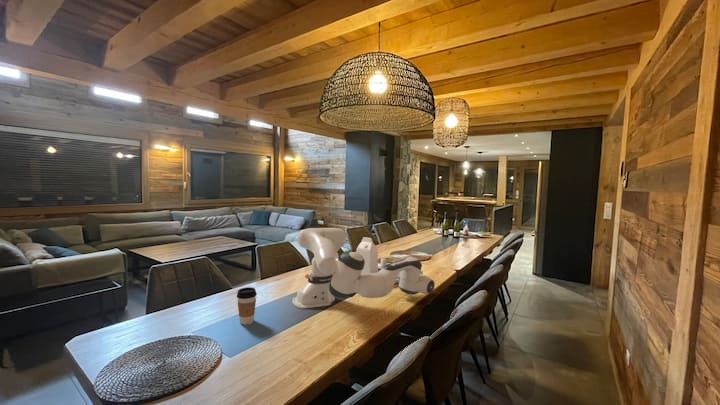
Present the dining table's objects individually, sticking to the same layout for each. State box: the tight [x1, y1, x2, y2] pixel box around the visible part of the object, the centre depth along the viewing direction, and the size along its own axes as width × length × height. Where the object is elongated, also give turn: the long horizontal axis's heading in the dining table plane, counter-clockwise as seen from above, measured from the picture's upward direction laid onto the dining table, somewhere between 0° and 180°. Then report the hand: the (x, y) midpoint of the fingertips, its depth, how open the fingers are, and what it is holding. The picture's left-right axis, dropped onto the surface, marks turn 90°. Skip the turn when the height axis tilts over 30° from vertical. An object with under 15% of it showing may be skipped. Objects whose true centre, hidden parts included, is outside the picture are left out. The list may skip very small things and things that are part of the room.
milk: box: [355, 236, 379, 275], centre depth 206 cm, size 12×12×26 cm
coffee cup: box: [236, 287, 257, 326], centre depth 135 cm, size 8×8×15 cm
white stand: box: [380, 257, 388, 270], centre depth 190 cm, size 9×9×13 cm
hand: (395, 271), depth 180 cm, fingers open, 8 cm apart
